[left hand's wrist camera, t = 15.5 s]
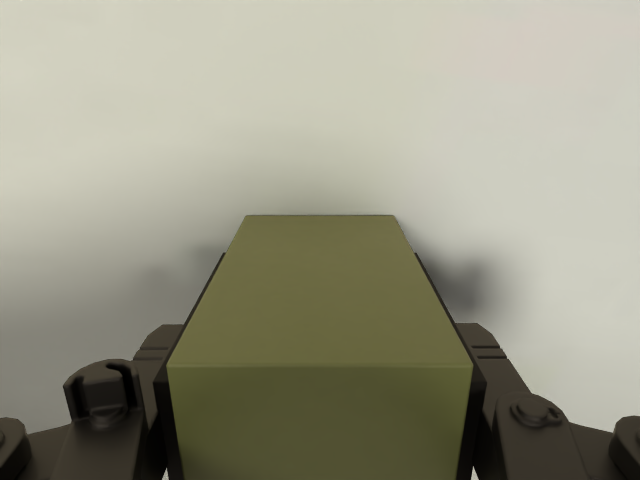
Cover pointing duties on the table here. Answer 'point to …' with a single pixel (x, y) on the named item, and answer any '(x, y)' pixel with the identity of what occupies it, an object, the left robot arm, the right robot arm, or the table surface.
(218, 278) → the olive block
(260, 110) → the table surface
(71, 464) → the left robot arm
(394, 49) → the table surface
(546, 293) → the table surface
